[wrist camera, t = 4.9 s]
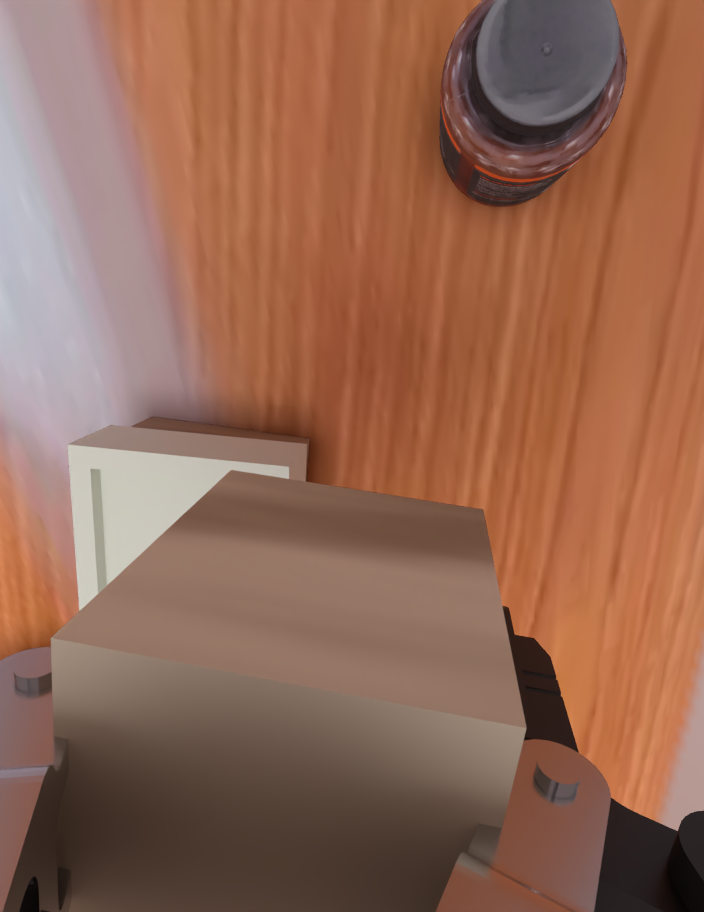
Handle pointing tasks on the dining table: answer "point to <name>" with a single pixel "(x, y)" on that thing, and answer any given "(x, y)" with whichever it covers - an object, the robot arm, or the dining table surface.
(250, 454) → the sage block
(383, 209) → the dining table surface
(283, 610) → the maple cube
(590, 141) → the supplement bottle
